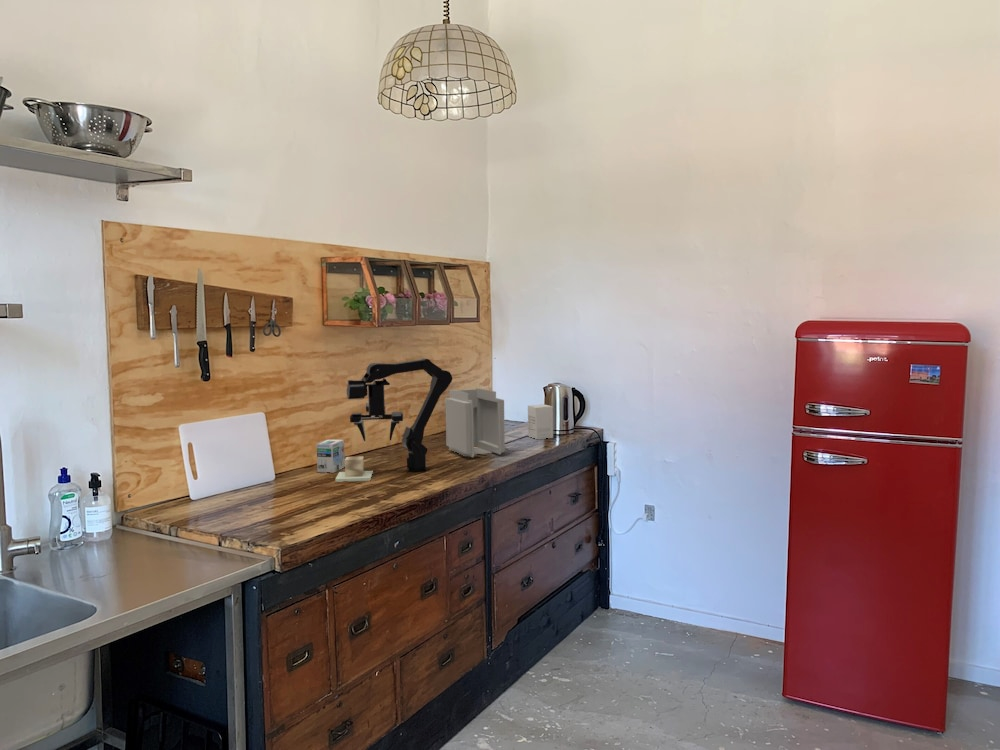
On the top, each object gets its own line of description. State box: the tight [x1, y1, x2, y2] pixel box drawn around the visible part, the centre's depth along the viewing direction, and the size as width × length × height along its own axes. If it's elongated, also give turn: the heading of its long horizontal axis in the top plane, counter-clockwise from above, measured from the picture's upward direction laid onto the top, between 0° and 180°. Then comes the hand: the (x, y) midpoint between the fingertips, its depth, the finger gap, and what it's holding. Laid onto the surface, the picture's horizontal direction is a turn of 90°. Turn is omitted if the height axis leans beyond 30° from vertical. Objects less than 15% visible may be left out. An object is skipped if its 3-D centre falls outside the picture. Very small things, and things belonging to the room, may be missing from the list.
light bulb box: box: [316, 438, 346, 474], centre depth 274 cm, size 11×7×11 cm, turn 168°
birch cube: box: [344, 455, 365, 477], centre depth 260 cm, size 6×6×6 cm
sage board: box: [334, 470, 374, 483], centre depth 261 cm, size 12×12×1 cm
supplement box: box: [527, 404, 554, 440], centre depth 340 cm, size 9×9×15 cm
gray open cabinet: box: [445, 387, 506, 458], centre depth 304 cm, size 17×27×26 cm, turn 26°
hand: (377, 440), depth 267 cm, fingers open, 9 cm apart
